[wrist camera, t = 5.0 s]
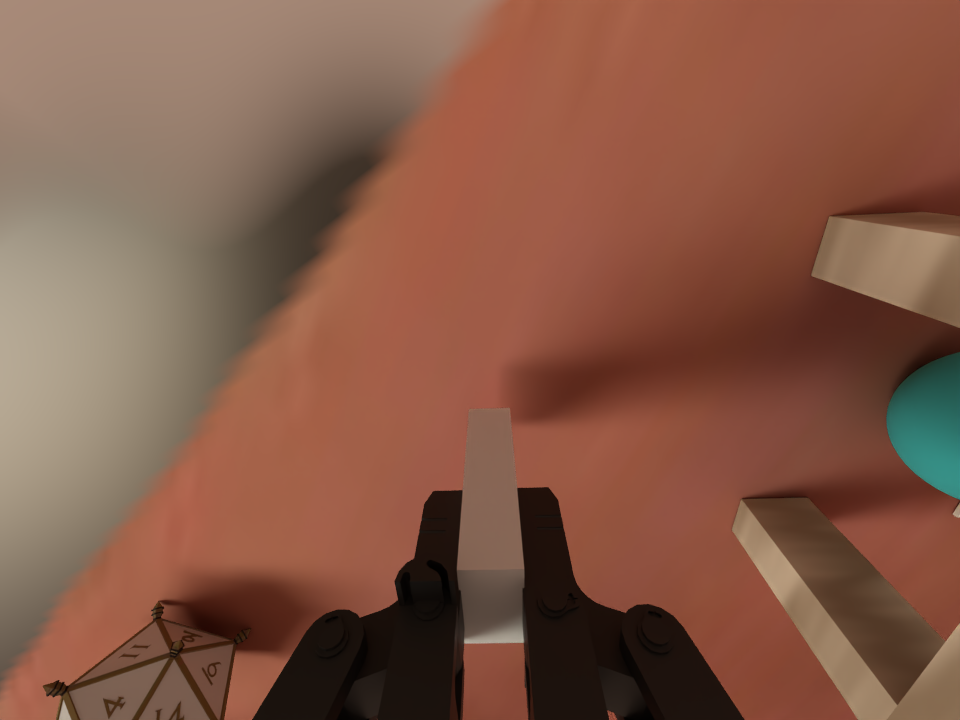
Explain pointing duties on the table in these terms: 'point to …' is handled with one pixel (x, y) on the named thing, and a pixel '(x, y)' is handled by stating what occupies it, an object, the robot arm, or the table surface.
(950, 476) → the ball
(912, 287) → the bridge
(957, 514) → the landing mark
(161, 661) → the game die
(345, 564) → the table surface
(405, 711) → the robot arm
